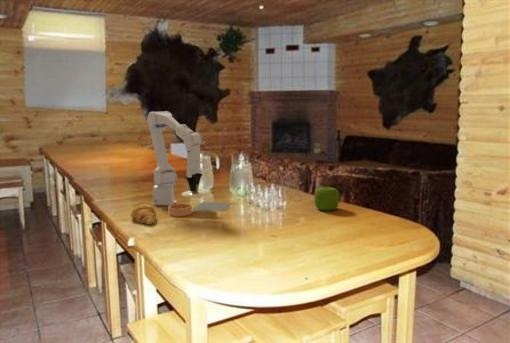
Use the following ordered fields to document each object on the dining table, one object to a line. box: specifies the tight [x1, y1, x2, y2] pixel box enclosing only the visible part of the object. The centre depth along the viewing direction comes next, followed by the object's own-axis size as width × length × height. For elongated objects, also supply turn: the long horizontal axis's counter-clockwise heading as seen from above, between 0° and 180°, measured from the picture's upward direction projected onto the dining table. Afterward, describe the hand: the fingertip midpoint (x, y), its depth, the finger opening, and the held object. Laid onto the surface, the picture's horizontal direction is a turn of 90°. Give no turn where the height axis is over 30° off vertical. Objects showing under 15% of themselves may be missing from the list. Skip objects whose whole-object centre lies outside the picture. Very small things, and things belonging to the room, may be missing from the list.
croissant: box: [130, 202, 157, 225], centre depth 187 cm, size 21×10×8 cm, turn 31°
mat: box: [192, 201, 233, 212], centre depth 207 cm, size 15×15×1 cm
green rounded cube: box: [314, 185, 340, 212], centre depth 202 cm, size 11×11×11 cm
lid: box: [180, 184, 209, 199], centre depth 199 cm, size 12×12×5 cm
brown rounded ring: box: [167, 203, 193, 217], centre depth 195 cm, size 10×10×4 cm
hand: (194, 190), depth 199 cm, fingers closed on lid, 3 cm apart
